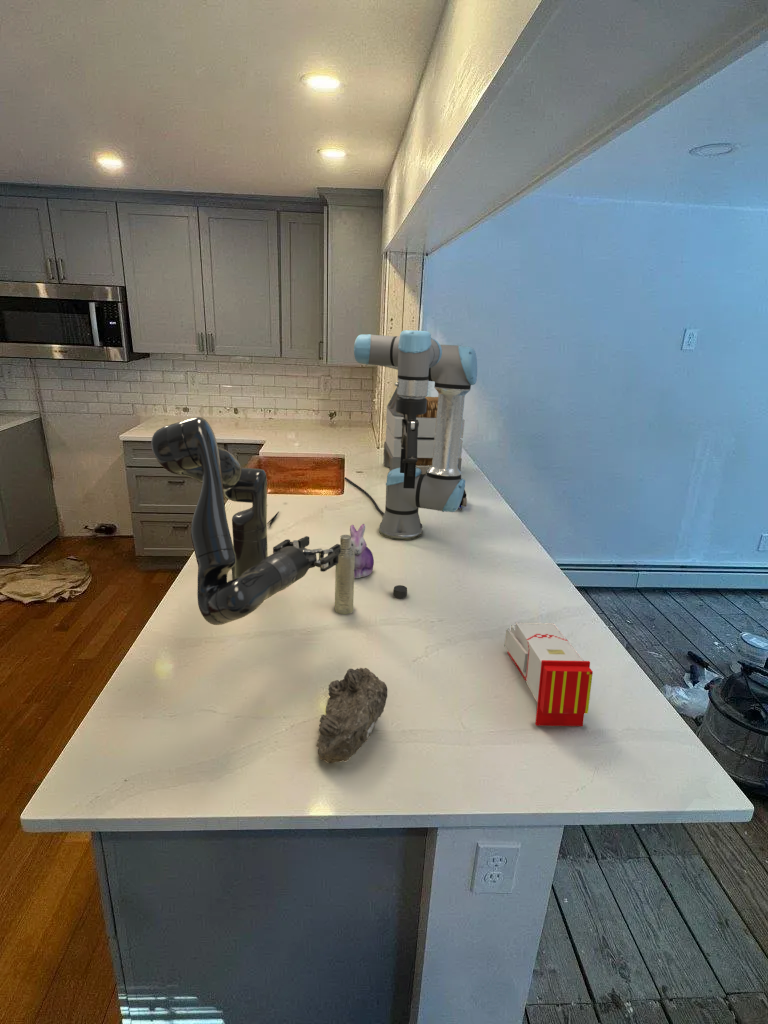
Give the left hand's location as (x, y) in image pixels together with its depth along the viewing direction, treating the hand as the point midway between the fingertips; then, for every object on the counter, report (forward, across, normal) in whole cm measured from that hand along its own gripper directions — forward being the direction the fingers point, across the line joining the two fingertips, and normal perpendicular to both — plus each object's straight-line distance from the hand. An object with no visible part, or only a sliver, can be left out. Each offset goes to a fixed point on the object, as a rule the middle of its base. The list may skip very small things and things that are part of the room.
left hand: (323, 543), depth 132 cm
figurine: (+32, +7, +22) cm, 39 cm away
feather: (+58, +57, +22) cm, 84 cm away
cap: (+25, -9, +20) cm, 34 cm away
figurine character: (+106, +4, +22) cm, 108 cm away
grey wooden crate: (+142, +36, +22) cm, 149 cm away
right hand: (+25, -9, -11) cm, 29 cm away
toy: (+5, -52, +22) cm, 57 cm away
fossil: (-27, -24, +22) cm, 42 cm away
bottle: (+10, 0, +22) cm, 25 cm away
